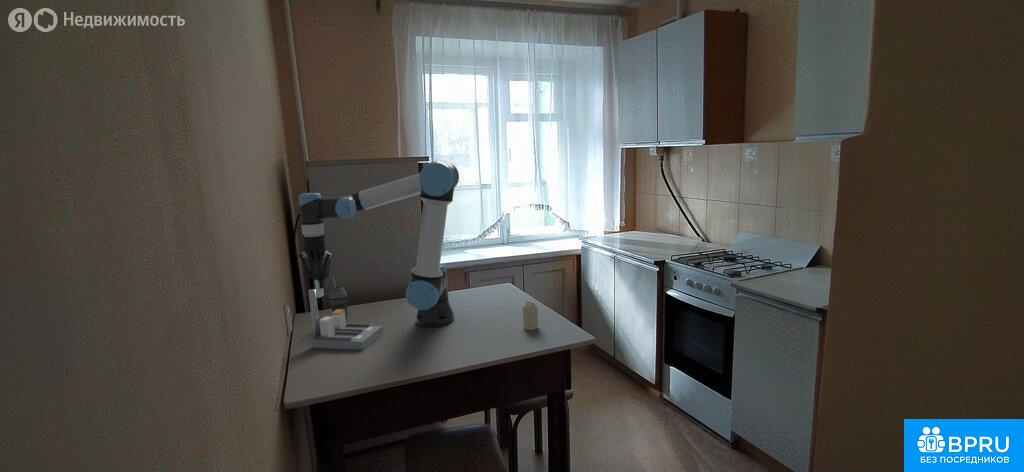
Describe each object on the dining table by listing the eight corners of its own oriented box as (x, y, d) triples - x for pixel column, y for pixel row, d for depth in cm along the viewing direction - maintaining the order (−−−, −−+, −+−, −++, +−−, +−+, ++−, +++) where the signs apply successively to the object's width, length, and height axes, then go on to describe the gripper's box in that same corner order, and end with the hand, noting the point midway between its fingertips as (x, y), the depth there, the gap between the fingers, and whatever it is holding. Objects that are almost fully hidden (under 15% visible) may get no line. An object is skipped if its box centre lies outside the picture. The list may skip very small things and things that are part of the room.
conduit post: (322, 336, 174) (316, 288, 170) (318, 339, 171) (312, 290, 168) (316, 336, 174) (310, 288, 171) (312, 338, 172) (306, 290, 169)
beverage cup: (344, 327, 190) (339, 279, 187) (327, 327, 192) (322, 279, 188) (353, 321, 197) (348, 274, 194) (337, 320, 199) (332, 274, 195)
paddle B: (335, 334, 175) (333, 316, 174) (328, 338, 171) (326, 320, 170) (327, 334, 176) (325, 316, 175) (321, 338, 172) (319, 320, 171)
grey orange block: (346, 326, 183) (344, 309, 182) (340, 330, 179) (338, 312, 178) (339, 326, 183) (337, 309, 182) (333, 330, 180) (331, 312, 178)
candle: (541, 327, 182) (540, 302, 180) (531, 331, 178) (530, 305, 176) (530, 324, 185) (529, 299, 184) (520, 328, 181) (519, 303, 180)
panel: (382, 333, 182) (381, 323, 181) (363, 349, 168) (362, 339, 167) (335, 332, 186) (334, 322, 185) (312, 347, 172) (311, 337, 171)
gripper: (335, 233, 179) (341, 294, 183) (304, 233, 181) (310, 293, 185) (323, 236, 171) (330, 300, 175) (291, 236, 174) (298, 299, 178)
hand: (320, 296), depth 180 cm, fingers closed
